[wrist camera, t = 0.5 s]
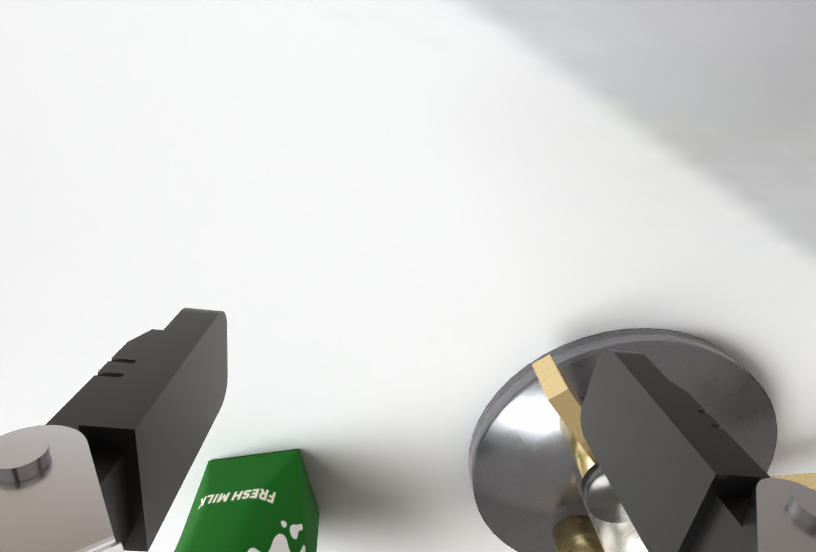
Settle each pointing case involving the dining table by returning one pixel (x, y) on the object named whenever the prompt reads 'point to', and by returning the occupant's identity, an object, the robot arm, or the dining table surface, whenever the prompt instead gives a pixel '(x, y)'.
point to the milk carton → (253, 507)
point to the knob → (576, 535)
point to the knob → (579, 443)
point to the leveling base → (550, 455)
